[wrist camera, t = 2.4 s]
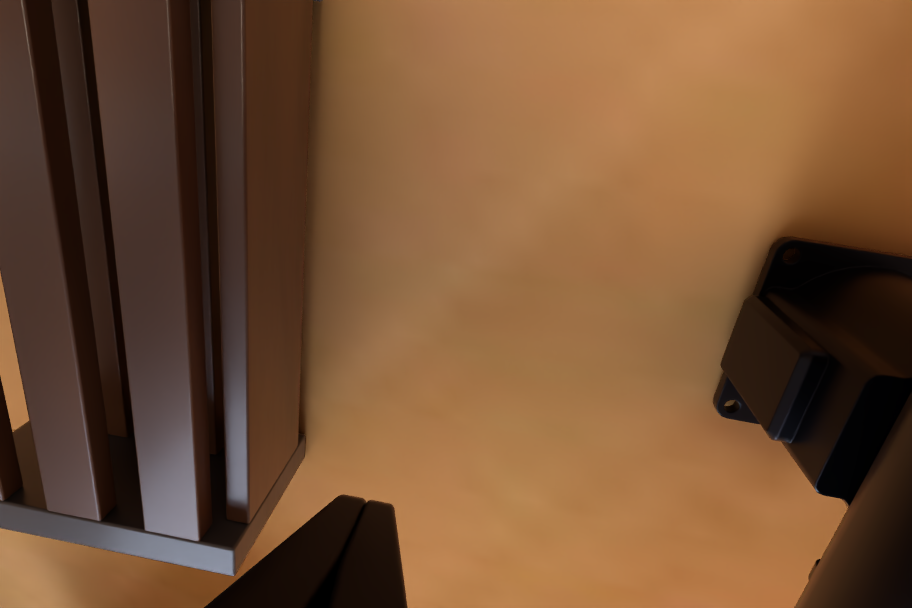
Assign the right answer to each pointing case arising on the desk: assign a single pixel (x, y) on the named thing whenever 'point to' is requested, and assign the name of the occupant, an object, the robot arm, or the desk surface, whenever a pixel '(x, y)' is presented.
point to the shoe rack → (153, 269)
